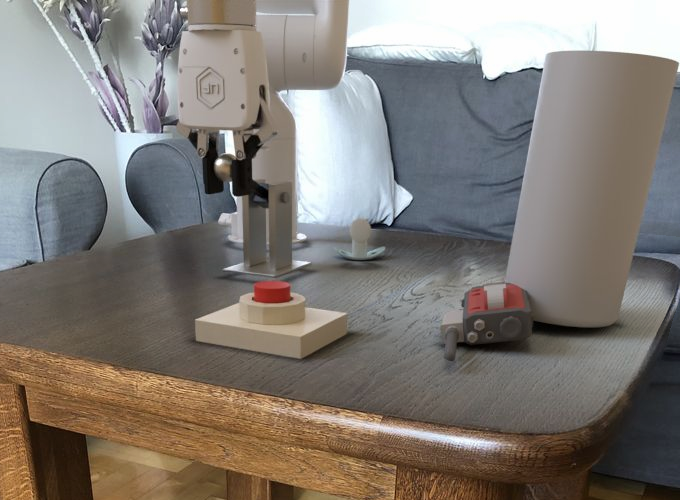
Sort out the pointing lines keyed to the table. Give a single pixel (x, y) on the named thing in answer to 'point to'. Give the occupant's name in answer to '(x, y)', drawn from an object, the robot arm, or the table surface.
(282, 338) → the button housing
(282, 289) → the button
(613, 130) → the cylinder vase
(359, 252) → the pacifier
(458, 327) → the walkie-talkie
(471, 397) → the table surface
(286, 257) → the switch bracket
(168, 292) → the table surface
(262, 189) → the switch lever
